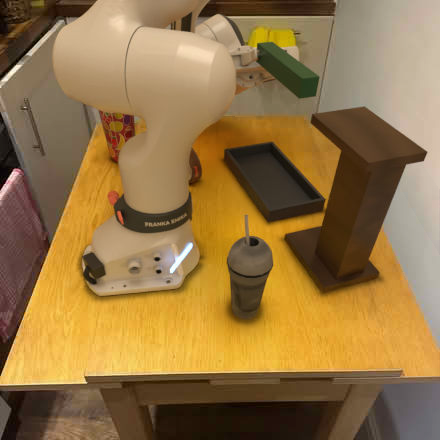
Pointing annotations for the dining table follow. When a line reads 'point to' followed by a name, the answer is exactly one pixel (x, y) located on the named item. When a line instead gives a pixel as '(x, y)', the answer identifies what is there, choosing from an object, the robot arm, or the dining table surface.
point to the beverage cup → (248, 273)
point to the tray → (273, 181)
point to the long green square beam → (288, 70)
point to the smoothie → (117, 130)
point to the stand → (354, 197)
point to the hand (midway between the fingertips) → (268, 52)
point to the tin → (194, 167)
